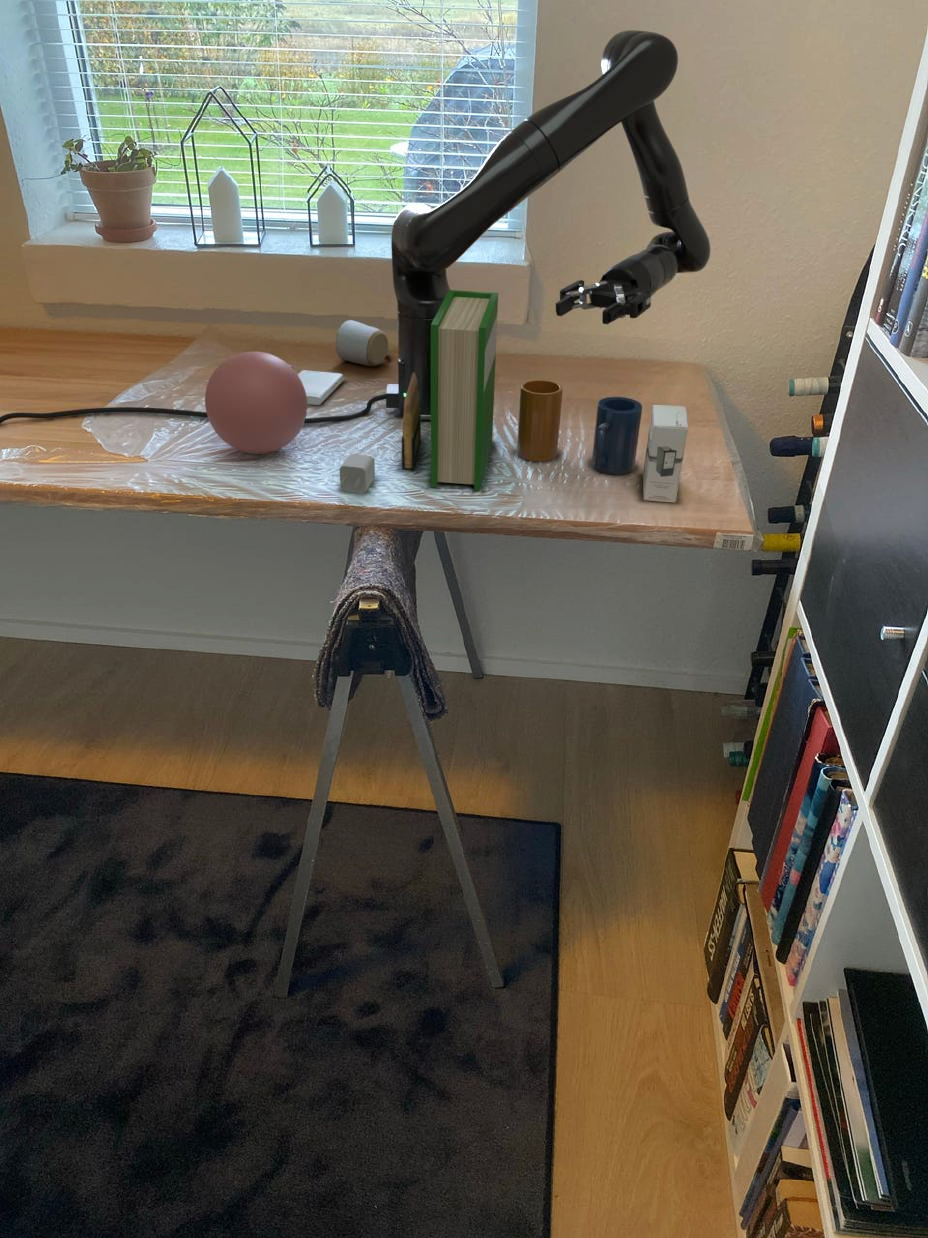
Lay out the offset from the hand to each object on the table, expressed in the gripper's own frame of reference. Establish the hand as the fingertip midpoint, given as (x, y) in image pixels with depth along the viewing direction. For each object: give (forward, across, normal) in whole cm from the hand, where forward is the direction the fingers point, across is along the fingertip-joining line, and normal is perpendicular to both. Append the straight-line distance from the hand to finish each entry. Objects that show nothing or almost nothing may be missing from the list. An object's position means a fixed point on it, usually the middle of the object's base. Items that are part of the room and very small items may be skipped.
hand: (580, 313), depth 147 cm
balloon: (+39, -35, +14) cm, 54 cm away
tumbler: (+14, 0, +18) cm, 23 cm away
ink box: (+13, +21, +19) cm, 31 cm away
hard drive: (+18, -47, +16) cm, 52 cm away
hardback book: (+25, -6, +16) cm, 30 cm away
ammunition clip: (+27, -14, +16) cm, 35 cm away
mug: (+11, +12, +19) cm, 25 cm away
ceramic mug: (-1, -51, +18) cm, 54 cm away
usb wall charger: (+42, -13, +14) cm, 46 cm away
